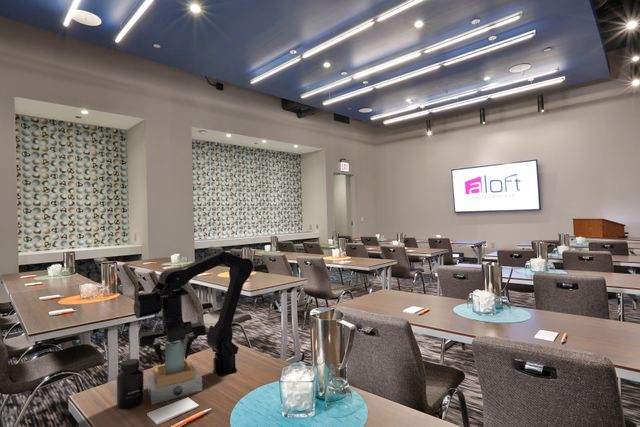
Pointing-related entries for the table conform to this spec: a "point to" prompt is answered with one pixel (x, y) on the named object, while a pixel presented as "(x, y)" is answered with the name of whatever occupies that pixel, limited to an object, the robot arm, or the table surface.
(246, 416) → the table surface
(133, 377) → the supplement bottle
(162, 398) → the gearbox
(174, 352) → the tin can
